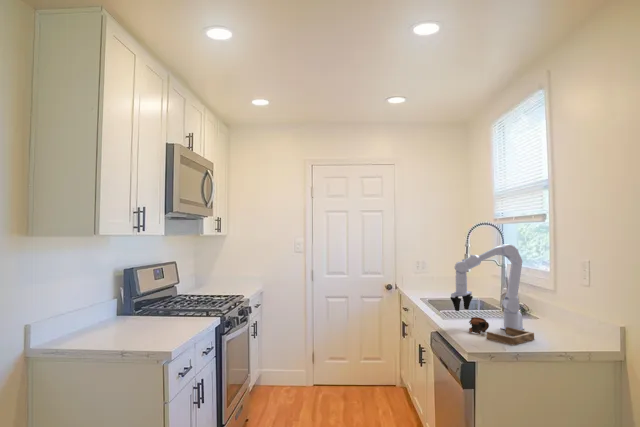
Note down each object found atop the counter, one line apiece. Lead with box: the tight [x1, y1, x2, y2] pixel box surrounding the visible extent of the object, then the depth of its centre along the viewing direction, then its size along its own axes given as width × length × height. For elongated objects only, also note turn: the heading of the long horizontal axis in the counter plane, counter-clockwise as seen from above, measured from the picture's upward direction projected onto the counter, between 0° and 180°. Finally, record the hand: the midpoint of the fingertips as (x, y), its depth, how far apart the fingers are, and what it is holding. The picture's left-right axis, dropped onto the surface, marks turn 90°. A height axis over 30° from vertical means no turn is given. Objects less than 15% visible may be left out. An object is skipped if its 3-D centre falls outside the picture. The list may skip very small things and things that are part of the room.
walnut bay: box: [486, 327, 535, 346], centre depth 195 cm, size 17×14×3 cm
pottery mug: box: [468, 316, 490, 335], centre depth 208 cm, size 12×10×8 cm
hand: (461, 310), depth 218 cm, fingers open, 7 cm apart
